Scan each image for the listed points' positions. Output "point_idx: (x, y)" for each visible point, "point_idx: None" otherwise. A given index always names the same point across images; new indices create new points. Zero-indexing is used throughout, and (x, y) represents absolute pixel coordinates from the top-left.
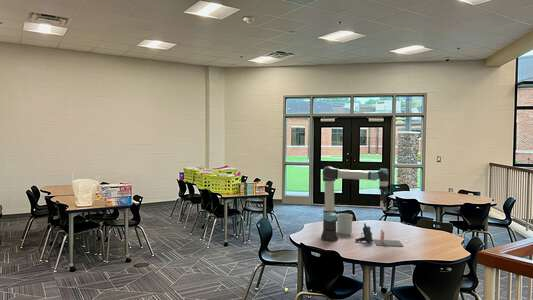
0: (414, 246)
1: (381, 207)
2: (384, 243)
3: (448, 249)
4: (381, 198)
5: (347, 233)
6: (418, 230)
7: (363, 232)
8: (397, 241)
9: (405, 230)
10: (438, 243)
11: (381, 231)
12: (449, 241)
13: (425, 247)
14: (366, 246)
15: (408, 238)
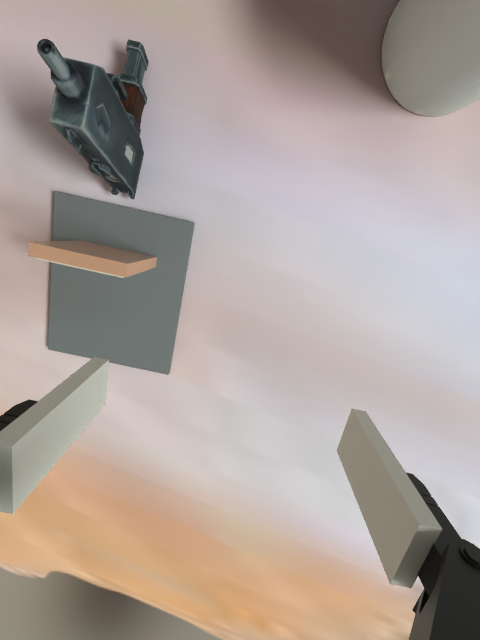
0: None
1: (348, 430)
2: None
3: (38, 524)
4: (426, 628)
5: (383, 55)
6: None
7: (116, 94)
8: (146, 356)
9: None
10: (142, 534)
11: (84, 253)
12: (182, 589)
13: None
14: (23, 106)
15: (241, 448)
